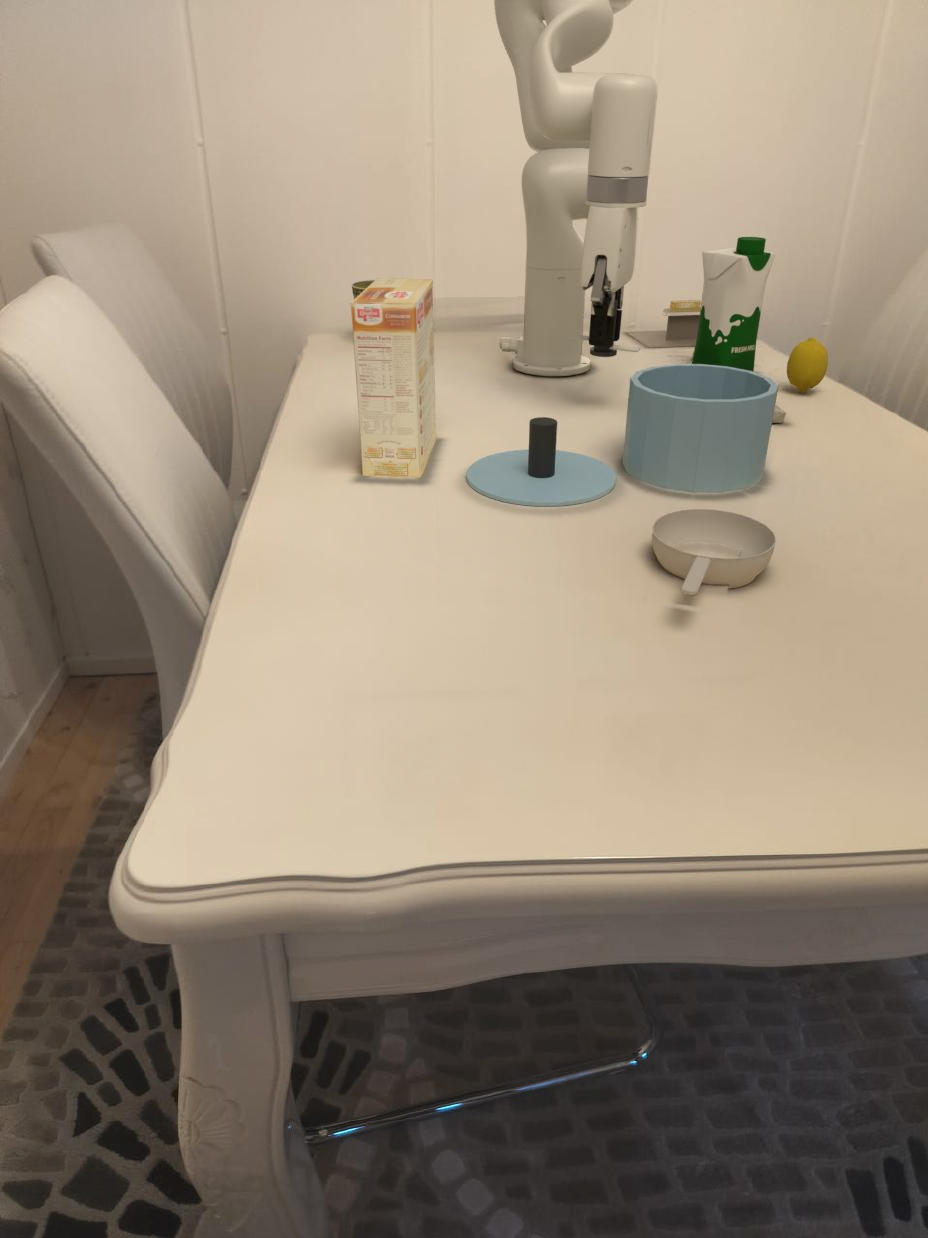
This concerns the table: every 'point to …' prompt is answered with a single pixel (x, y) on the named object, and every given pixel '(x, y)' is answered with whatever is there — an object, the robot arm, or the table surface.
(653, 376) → the bowl
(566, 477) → the blue pot lid
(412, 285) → the coffeecake box
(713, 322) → the milk carton
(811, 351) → the lemon
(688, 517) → the saucepan
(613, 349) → the blade
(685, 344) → the platform
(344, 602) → the table surface
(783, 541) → the table surface
